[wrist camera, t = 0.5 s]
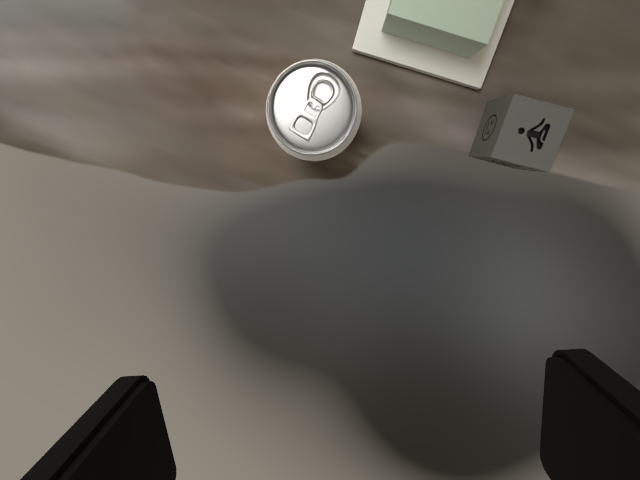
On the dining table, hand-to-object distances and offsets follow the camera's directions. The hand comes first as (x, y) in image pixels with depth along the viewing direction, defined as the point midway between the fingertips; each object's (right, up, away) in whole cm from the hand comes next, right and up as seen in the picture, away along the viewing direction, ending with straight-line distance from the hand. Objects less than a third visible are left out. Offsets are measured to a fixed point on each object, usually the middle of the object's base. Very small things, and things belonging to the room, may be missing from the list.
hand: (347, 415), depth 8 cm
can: (-1, +15, +25) cm, 29 cm away
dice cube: (+17, +14, +24) cm, 33 cm away
